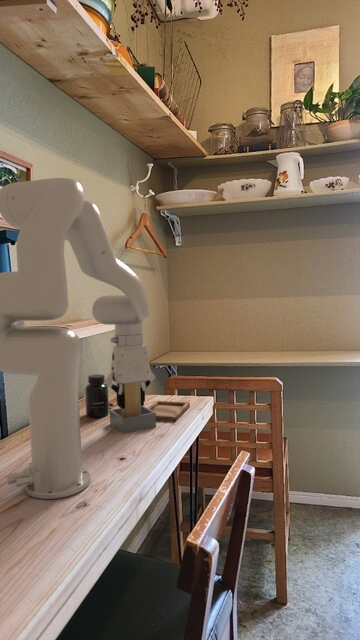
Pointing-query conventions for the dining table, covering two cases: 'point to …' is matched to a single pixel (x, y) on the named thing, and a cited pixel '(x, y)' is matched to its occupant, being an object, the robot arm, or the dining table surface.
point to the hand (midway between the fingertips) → (131, 405)
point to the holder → (133, 420)
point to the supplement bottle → (96, 397)
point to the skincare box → (132, 399)
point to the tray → (169, 410)
